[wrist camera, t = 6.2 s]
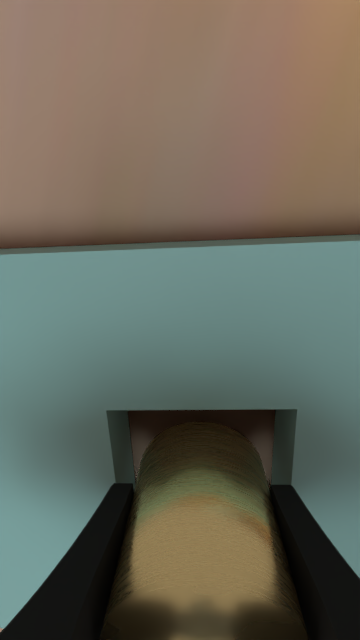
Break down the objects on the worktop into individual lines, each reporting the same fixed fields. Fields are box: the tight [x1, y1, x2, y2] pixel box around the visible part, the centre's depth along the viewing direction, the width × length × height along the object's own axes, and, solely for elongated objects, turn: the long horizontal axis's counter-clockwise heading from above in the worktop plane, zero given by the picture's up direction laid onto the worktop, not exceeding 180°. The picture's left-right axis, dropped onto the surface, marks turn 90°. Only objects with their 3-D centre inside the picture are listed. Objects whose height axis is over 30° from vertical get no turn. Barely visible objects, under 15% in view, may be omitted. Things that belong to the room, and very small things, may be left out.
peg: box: [100, 422, 309, 640], centre depth 9 cm, size 4×4×5 cm
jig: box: [0, 234, 360, 628], centre depth 12 cm, size 18×16×2 cm
